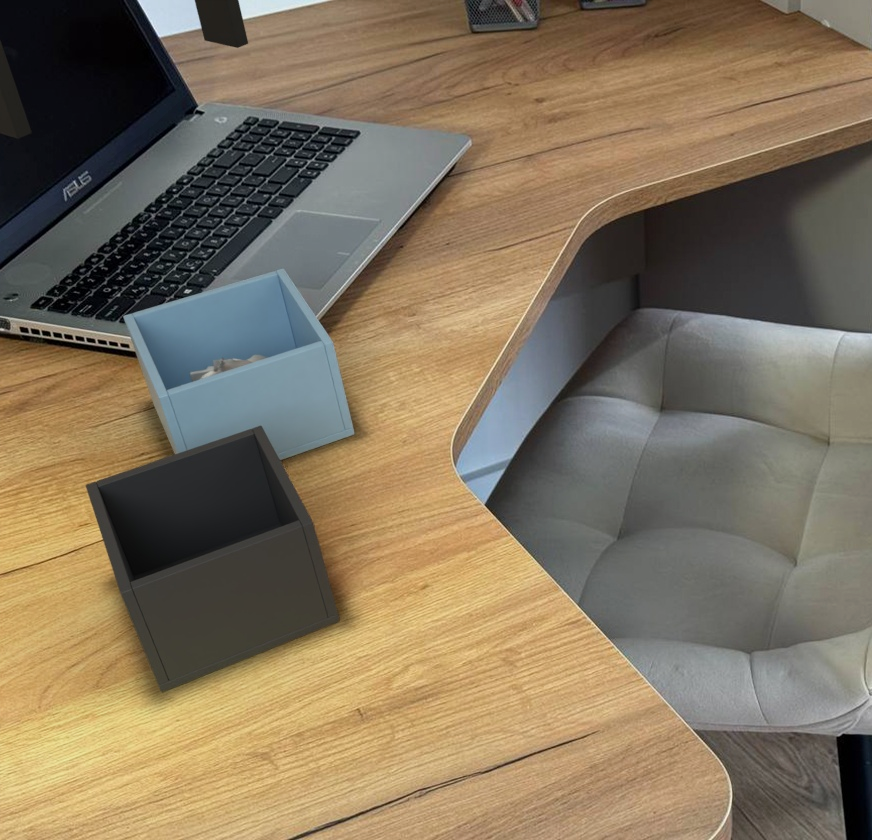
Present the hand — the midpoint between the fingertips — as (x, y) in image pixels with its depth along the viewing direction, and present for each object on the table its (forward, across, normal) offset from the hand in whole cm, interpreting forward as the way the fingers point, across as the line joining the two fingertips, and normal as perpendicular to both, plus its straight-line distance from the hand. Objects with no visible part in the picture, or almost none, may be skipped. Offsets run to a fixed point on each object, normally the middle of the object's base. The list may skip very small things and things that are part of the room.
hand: (124, 84), depth 67 cm
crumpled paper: (+27, -6, -7) cm, 29 cm away
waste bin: (+28, +6, +5) cm, 29 cm away
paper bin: (+28, -7, -7) cm, 29 cm away
